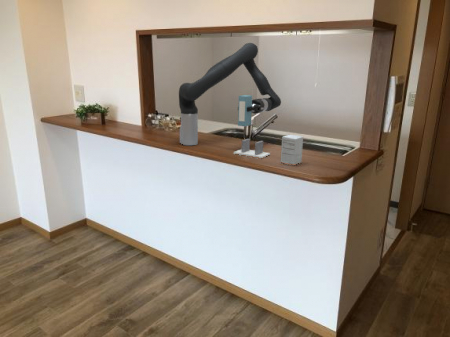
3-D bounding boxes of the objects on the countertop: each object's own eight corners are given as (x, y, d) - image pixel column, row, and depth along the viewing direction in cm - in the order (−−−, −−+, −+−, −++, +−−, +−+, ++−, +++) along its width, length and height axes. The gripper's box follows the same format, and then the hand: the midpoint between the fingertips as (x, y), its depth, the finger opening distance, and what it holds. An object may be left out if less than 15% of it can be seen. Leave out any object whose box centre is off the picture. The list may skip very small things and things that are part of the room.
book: (237, 125, 189) (238, 95, 185) (243, 123, 194) (244, 95, 190) (245, 126, 187) (246, 96, 183) (251, 124, 192) (252, 95, 188)
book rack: (233, 154, 186) (234, 140, 184) (242, 150, 193) (243, 137, 191) (261, 159, 178) (262, 144, 176) (270, 155, 185) (271, 141, 183)
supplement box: (287, 160, 177) (289, 134, 174) (301, 162, 173) (304, 136, 169) (279, 163, 172) (281, 136, 168) (294, 166, 167) (296, 138, 164)
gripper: (247, 97, 203) (231, 100, 189) (270, 99, 196) (255, 102, 182) (246, 111, 205) (230, 115, 191) (270, 113, 198) (255, 117, 184)
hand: (243, 109), depth 187 cm, fingers closed on book, 4 cm apart
